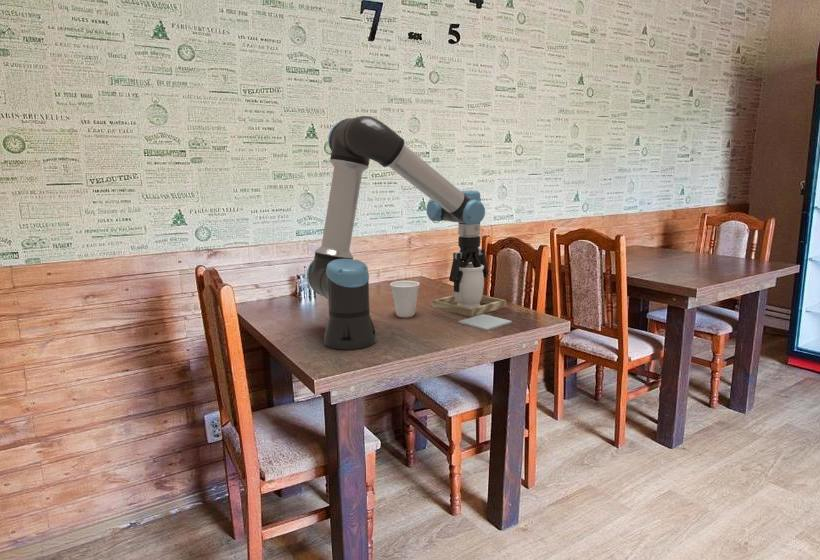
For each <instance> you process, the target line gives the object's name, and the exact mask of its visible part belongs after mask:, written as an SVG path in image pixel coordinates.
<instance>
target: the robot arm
mask: <svg viewBox="0 0 820 560" xmlns="http://www.w3.org/2000/svg"><path fill="white" fill-rule="evenodd" d="M327 143H328V147H329V149H330V152H331V153H330V158H329V162H330V163H331V164H332V166H333V172H332V179H331V183H330V184H331V185H330V190H329V196H328V197H329V198H328V203H327V208H326V215H325V221H324V226H323V227H324V229H323V234H322V241H321V245H320V246H319V247H317V249H315V252H314V258H313V260H312V261H311V262H310V263H309V265H308V267H307V270H306V280H307V283H308V285H309V286H310V288H311V289H312V290H313V292H315V293H316V294H317V295H319V296H321V297H324V298H325V299H327V302H328V303H327V304H328V305H327V306H328V320H327V323H326V326H325V331H324V335H323V341H324V342H323V344H324V345H325V346H326V347H328V348H330V349H334V350H358V349H364V348H368V347H370V346H373V345H374V344H375V343H376V342H377V341H378V340H377V332H376V328H375V325H374V323H373V320H372V318H371V314H370V281H369V280H370V274H369V269H368V266H367V264H366V262H363V261H361V260H358V259H354V256H353V254H352V253H351V251H350V250H351V243H352V236H353V230H354V225H355V219H356V213H357V206H358V202H359V194H360V188H361V183H362V177H363V173H364V172H365V171H366V170H368V168H369V165H370V161H371V160H372V161H374V162H376V163H378V164H379V165H380V166H382V167H383V168H388V167H389V168H390V169H391V170H392V171H394V173H396V174H398V175H399V176H401V177H402V178H403V179H404V180H406V181H407V182H408V183H410V184H411V185H412V186H413V187H415V188H416V189H417V190H418V191H420V192H421V193H423V194H424V195H425V196H427V197H428V198H429V199H430V200H428V202H427V204H426V214H427V217H428V219H429V220H430V221H432V222H444V221H445V222H446V221H447V222H452V223H458V226H457V227H458V230H457V231H458V232H457V233H458V235H459V236H458V240H457V241H458V242H457V243H458V247H459V252H453V254H452V259H453V260H452V264H451V269H450V273H449V278H448V281H449V282H452V283H453V291H454V295H455V300H456V301H462V283H461V282H460V281H461V278H462V275H463V272H462V271H459V267H461V268H466V266H467V265H468V263H472V264H473V266H474V268H477V267H481V265H483V266H484V269H483V270H482V271H483V276H484V279H486V278H487V275H489V270H488V266H487V260H486V255H485V254H486V253H485V252H486V251H485V248H480V247H481V236H480V235H481V222H482V221H483V219H484V218H485V215H486V208H485V205H484V204H483V202H481V199H482V198H481V192H480V191H479V190H473V189H472V190H468V189H467V190H460V189H458V188H457V187H456V186H455V185H454V184H453V183H451V181H449V180H447V178H446V177H444V176H443V175H442V174H440V173H439V172H438V171H437V170H436V169H435V168H433V167H432V166H431V165H429V164H428V163H427V162H425V160H423V159H422V158H421V157H420V156H419V155H417V154H416V153H415V152H414V151H413V150H411V149H410V148H409V147H408V146H407V145H406V142H405V139H404V138H403V137H401V135H400V134H398V133H397V132H395V131H394V130H393V129H391V128H390V126H388V125H386V124H385V123H384V122H382V121H381V120H379V119H377V118H375V117H373V116H368V115H361V116H357V117H353V118H352V117H349V118H344V119H341V120H340V121H339V122H336V123H335V124H334V125H333V126H332V128H331V129H330V130H329V134H328V139H327ZM480 264H481V265H480ZM457 278H458V279H457ZM483 295H484V293H483V294H482V296H483Z"/></svg>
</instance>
